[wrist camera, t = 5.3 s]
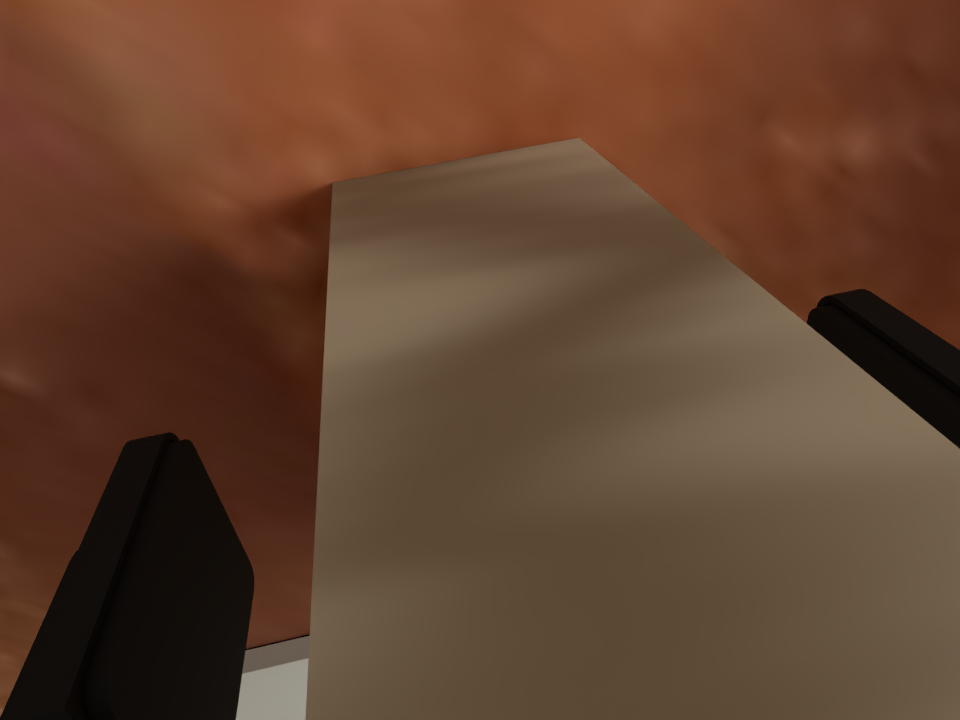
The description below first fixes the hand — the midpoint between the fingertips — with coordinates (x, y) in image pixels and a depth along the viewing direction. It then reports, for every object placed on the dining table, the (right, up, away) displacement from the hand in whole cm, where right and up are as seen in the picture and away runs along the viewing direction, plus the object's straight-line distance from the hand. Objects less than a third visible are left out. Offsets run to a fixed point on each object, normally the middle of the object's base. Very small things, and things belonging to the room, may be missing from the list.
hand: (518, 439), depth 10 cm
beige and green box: (-1, +2, +2) cm, 3 cm away
